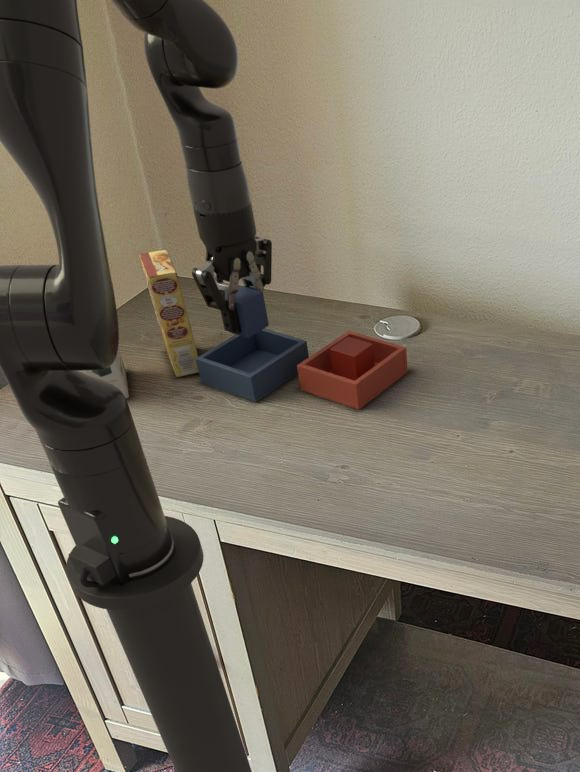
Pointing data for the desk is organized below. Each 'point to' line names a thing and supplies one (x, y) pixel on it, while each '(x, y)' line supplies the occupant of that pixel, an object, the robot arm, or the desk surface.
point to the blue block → (250, 311)
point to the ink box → (112, 374)
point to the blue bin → (252, 363)
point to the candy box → (170, 311)
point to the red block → (352, 358)
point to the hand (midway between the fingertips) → (246, 324)
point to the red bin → (346, 391)
